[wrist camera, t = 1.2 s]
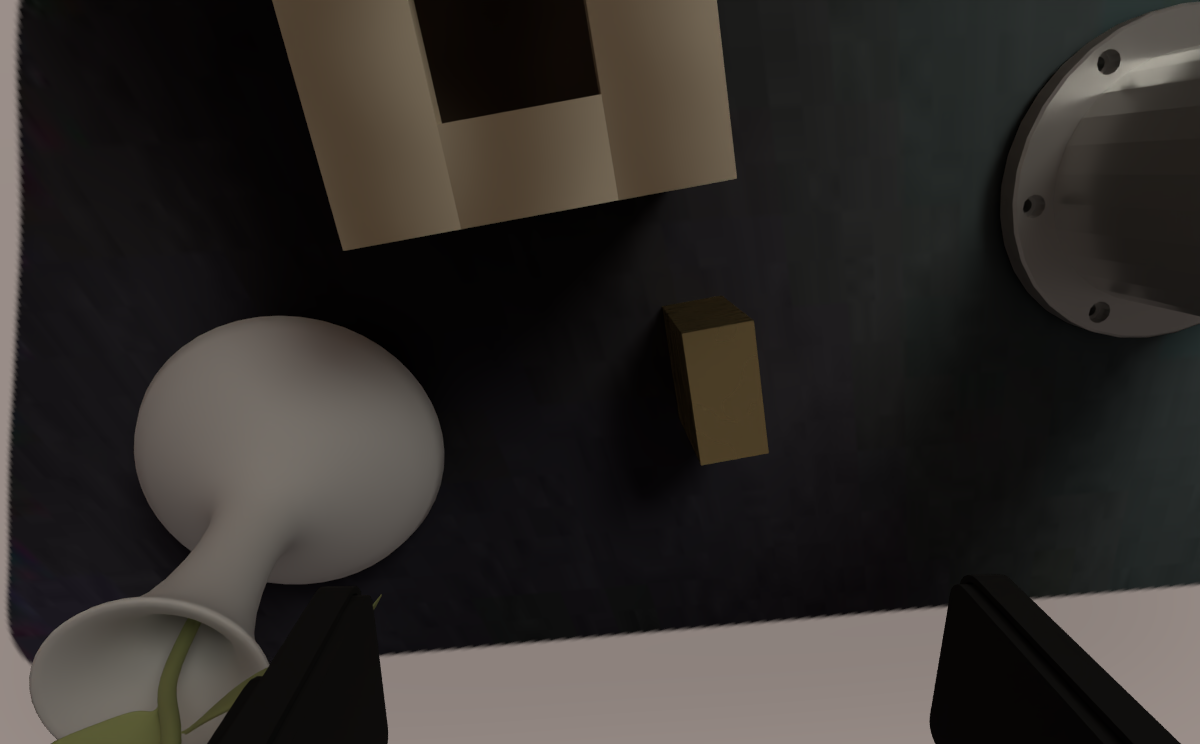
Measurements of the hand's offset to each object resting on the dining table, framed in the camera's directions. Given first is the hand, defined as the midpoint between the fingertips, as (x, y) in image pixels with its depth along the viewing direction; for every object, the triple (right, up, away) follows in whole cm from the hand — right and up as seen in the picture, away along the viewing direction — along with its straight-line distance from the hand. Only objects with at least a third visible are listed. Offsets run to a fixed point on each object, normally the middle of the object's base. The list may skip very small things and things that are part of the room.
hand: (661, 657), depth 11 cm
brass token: (+3, +5, +18) cm, 19 cm away
